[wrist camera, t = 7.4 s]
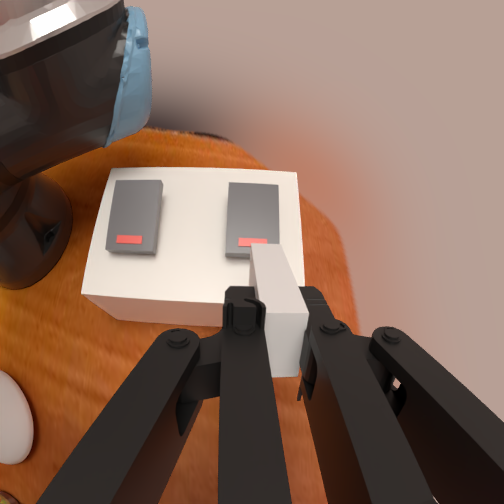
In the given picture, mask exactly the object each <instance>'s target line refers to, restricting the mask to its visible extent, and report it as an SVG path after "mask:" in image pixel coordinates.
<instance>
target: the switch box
mask: <svg viewBox="0 0 504 504" xmlns="http://www.w3.org/2000/svg"><path fill="white" fill-rule="evenodd" d="M116 180H161V181H162V183H163V193H162V201H161V209H160V218H159V227H158V237H157V248H156V254H137V253H114V252H108V251H107V250H105V246H106V238H107V231H108V224H109V217H110V211H111V204H112V199H113V193H114V187H115V182H116ZM229 182H237V183H258V184H275V185H279V233H280V244H281V246H282V248H283V251H284V253H285V255H286V258H287V260H288V263H289V265H290V268H291V270H292V272H293V275H294V277H295V280H296V282H297V285H298V286H305V280H304V263H303V247H302V232H301V219H300V206H299V194H298V184H297V173H296V172H283V171H282V172H281V171H269V170H251V169H229V168H194V167H139V168H111V172H110V175H109V178H108V181H107V184H106V188H105V191H104V195H103V198H102V202H101V205H100V209H99V212H98V216H97V220H96V224H95V228H94V232H93V236H92V241H91V245H90V249H89V254H88V259H87V263H86V268H85V274H84V279H83V284H82V290H81V294H82V295H83V296H85V297H86V298H87V299H89V300H90V301H91V302H93V303H94V304H96V305H97V306H98V307H100V308H101V309H103V310H104V311H105V312H107V313H108V314H110V315H111V316H113V317H114V318H115V319H117V320H126V321H137V322H149V323H162V324H176V325H193V326H214V327H222V318H223V304H224V298H225V291H226V290H227V289H228V288H229V287H230V286H249V269H250V258H244V257H225V247H226V226H227V206H228V188H229Z"/></svg>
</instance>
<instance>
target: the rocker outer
mask: <svg viewBox="0 0 504 504" xmlns="http://www.w3.org/2000/svg"><path fill="white" fill-rule="evenodd" d="M251 243H261V244H280V233H279V185H275V184H258V183H237V182H229V188H228V206H227V226H226V247H225V257H244V258H250V250H251Z"/></svg>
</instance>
